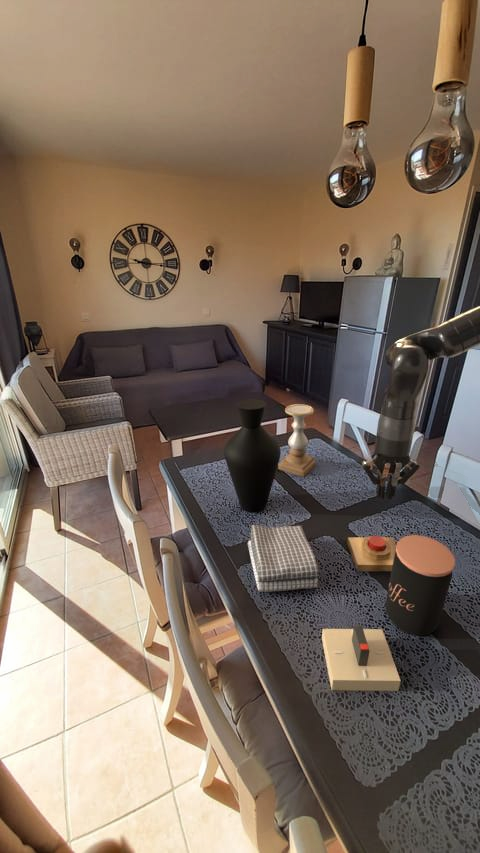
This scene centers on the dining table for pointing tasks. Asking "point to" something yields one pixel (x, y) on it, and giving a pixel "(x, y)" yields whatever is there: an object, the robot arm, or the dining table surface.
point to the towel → (282, 559)
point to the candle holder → (298, 443)
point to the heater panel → (345, 666)
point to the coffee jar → (419, 584)
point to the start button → (377, 543)
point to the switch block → (371, 554)
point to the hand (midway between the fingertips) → (384, 496)
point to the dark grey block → (360, 646)
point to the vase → (252, 457)
